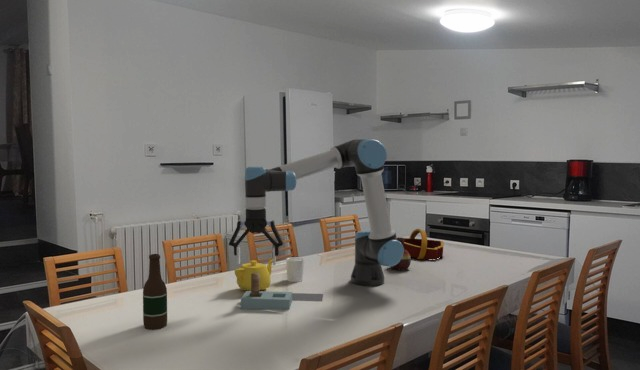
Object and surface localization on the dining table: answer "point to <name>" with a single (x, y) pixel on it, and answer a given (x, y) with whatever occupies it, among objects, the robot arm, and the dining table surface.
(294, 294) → the mat
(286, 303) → the hole block
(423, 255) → the decorative basket
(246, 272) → the teapot
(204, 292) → the dining table surface
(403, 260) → the vase
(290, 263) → the white cup
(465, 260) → the dining table surface
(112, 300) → the dining table surface
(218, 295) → the dining table surface
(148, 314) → the beer bottle
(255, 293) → the peg
